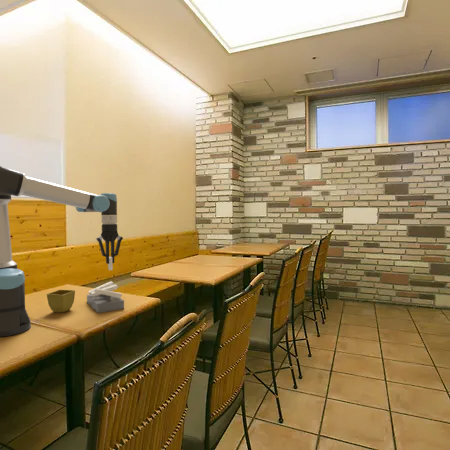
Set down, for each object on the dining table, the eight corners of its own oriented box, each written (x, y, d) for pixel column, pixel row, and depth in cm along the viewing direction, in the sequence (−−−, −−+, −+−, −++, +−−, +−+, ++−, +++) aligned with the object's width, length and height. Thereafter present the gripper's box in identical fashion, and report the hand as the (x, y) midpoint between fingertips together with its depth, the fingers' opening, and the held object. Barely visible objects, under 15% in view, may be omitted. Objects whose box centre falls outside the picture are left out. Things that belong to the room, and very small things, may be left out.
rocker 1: (90, 295, 164) (89, 292, 164) (89, 293, 167) (88, 291, 166) (114, 284, 170) (113, 282, 170) (112, 283, 173) (111, 281, 173)
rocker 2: (93, 296, 158) (92, 293, 158) (91, 295, 161) (90, 292, 161) (118, 288, 165) (117, 285, 165) (116, 287, 168) (115, 284, 168)
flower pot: (63, 314, 149) (63, 294, 149) (46, 313, 151) (46, 293, 150) (76, 309, 158) (75, 290, 157) (59, 308, 159) (59, 289, 159)
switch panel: (97, 313, 151) (97, 300, 151) (87, 302, 169) (86, 290, 169) (124, 308, 158) (123, 296, 157) (111, 299, 176) (110, 287, 175)
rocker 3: (95, 293, 153) (96, 289, 153) (94, 291, 156) (95, 288, 156) (120, 297, 159) (121, 294, 160) (118, 296, 162) (119, 292, 162)
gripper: (97, 224, 162) (98, 272, 163) (124, 223, 169) (125, 269, 170) (94, 223, 168) (95, 270, 169) (120, 223, 175) (121, 267, 176)
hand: (110, 269), depth 169 cm, fingers closed
